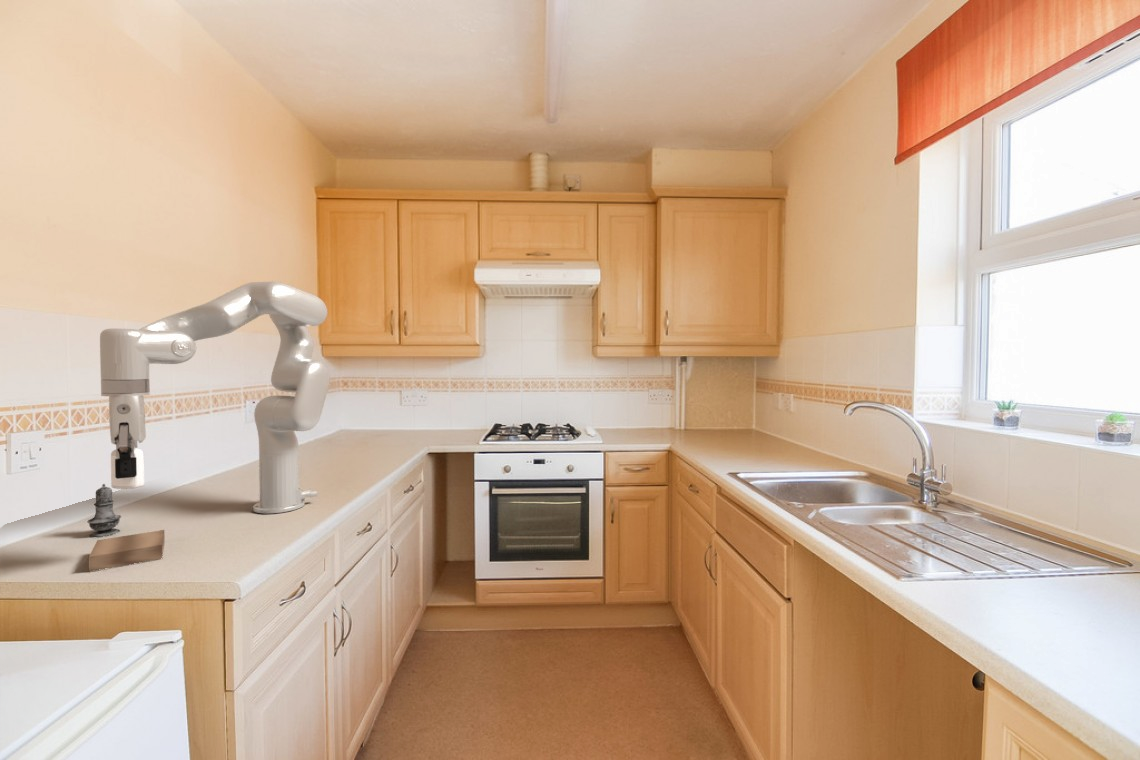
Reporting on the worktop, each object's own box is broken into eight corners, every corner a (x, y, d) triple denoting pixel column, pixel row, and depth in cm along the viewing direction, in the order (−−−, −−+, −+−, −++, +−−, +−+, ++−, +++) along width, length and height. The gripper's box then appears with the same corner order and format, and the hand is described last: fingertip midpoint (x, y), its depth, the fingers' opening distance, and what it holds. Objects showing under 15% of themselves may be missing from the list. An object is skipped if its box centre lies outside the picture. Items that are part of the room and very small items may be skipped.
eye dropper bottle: (119, 491, 100) (118, 432, 99) (109, 487, 102) (108, 430, 102) (146, 486, 103) (145, 430, 103) (136, 483, 106) (134, 428, 106)
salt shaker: (128, 529, 119) (127, 481, 119) (103, 538, 113) (101, 487, 113) (106, 528, 120) (105, 480, 119) (80, 537, 114) (78, 486, 113)
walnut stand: (164, 542, 111) (164, 529, 111) (162, 558, 102) (161, 544, 102) (97, 553, 104) (97, 540, 104) (89, 572, 96) (88, 557, 96)
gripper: (146, 390, 98) (148, 480, 98) (152, 385, 111) (153, 465, 112) (94, 391, 93) (96, 486, 94) (106, 386, 106) (108, 469, 107)
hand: (127, 473), depth 103 cm, fingers closed on eye dropper bottle, 4 cm apart
